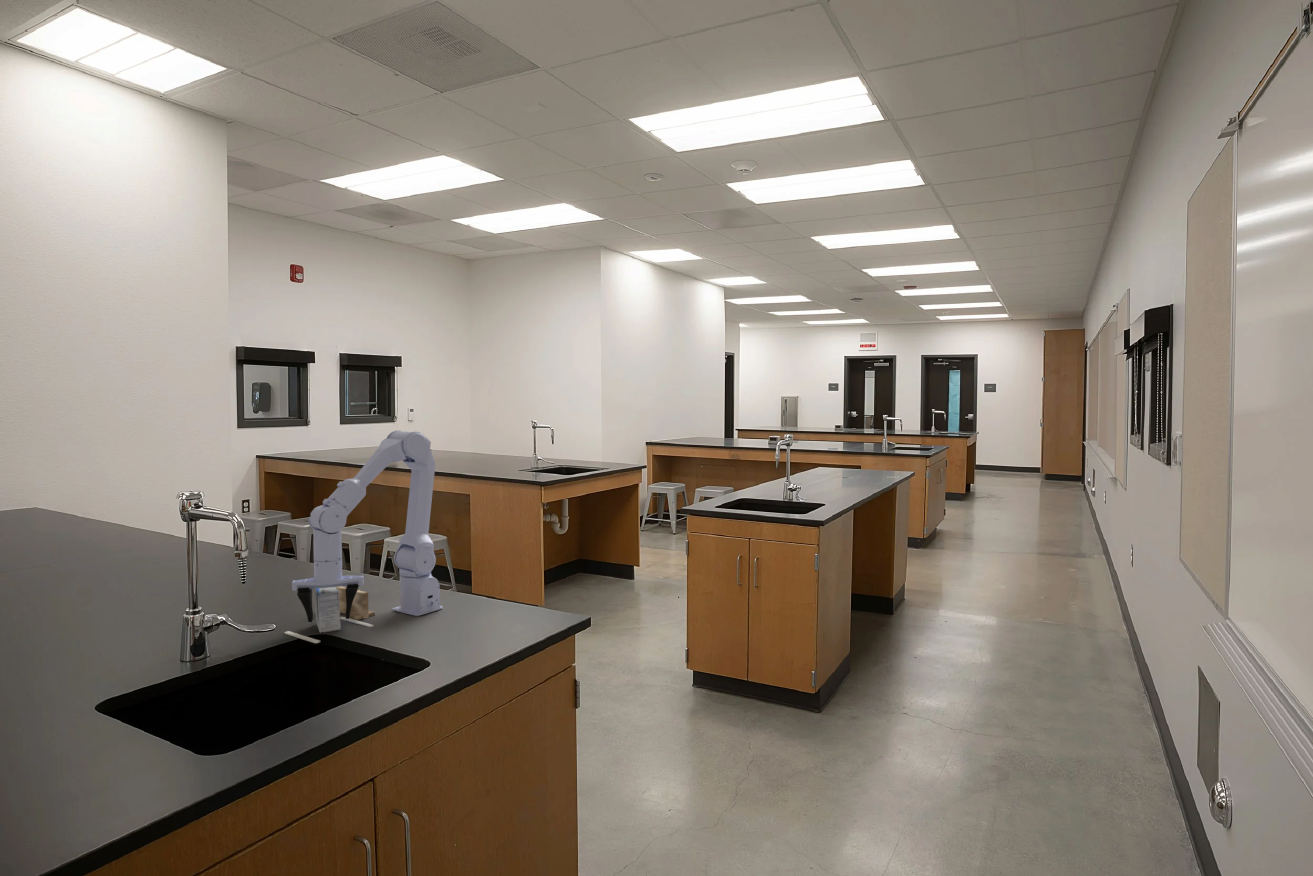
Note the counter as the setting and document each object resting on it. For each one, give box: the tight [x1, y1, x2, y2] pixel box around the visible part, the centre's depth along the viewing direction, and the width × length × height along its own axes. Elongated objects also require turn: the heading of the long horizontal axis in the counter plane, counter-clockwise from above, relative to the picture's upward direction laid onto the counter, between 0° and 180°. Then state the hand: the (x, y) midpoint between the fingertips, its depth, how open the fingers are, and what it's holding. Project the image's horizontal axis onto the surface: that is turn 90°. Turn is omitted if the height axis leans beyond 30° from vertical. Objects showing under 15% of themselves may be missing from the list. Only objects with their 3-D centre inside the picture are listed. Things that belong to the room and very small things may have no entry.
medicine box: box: [314, 587, 341, 634], centre depth 164 cm, size 8×4×9 cm, turn 31°
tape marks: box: [283, 616, 374, 644], centre depth 162 cm, size 12×14×1 cm
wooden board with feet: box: [336, 586, 376, 621], centre depth 175 cm, size 14×5×6 cm, turn 57°
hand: (329, 619), depth 162 cm, fingers open, 7 cm apart
